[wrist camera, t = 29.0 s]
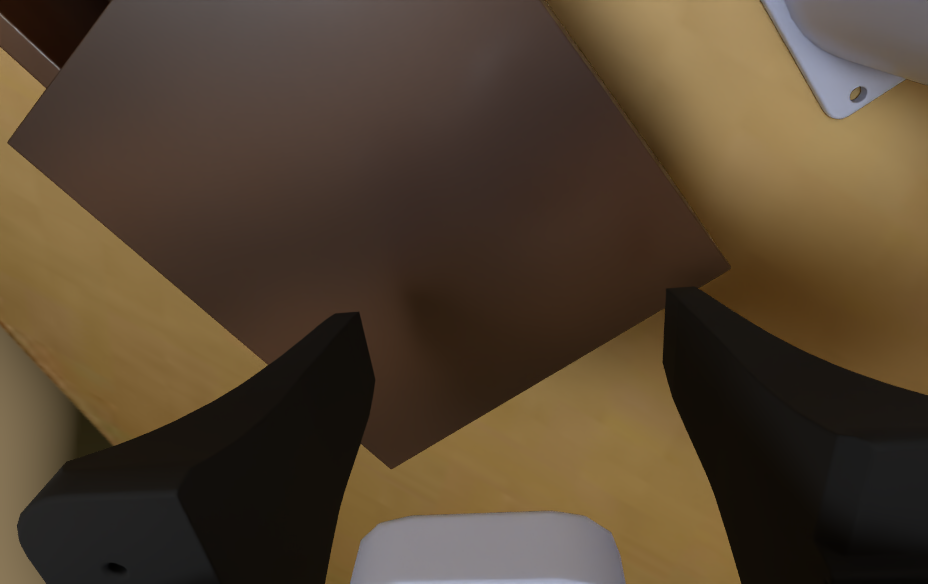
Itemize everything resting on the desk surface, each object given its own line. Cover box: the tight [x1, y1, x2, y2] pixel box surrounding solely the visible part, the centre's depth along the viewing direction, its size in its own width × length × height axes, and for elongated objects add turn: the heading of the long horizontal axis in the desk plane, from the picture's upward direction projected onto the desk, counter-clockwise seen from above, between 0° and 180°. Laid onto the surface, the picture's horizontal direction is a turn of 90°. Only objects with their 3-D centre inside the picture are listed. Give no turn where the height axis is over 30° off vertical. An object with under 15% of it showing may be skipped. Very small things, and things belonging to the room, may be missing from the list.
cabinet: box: [7, 0, 731, 469], centre depth 19 cm, size 15×13×8 cm
